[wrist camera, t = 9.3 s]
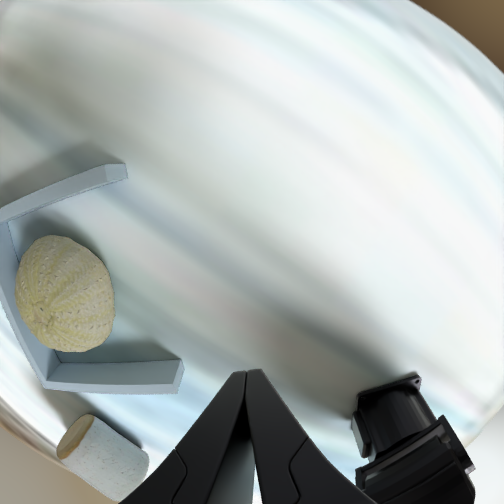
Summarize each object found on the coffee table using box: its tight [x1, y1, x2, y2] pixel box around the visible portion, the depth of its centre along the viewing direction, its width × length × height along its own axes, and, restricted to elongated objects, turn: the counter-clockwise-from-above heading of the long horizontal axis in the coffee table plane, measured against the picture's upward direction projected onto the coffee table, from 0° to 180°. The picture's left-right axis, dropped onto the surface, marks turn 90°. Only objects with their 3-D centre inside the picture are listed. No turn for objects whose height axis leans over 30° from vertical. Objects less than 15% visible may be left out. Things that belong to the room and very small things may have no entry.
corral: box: [0, 164, 185, 394], centre depth 19 cm, size 14×16×3 cm
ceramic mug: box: [57, 414, 149, 501], centre depth 22 cm, size 11×8×8 cm
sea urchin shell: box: [14, 235, 115, 352], centre depth 18 cm, size 9×8×8 cm
